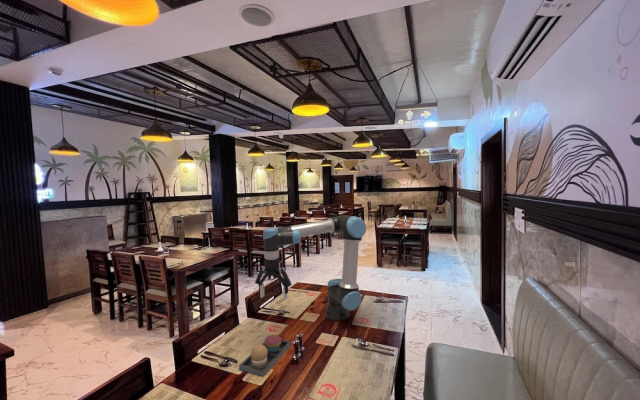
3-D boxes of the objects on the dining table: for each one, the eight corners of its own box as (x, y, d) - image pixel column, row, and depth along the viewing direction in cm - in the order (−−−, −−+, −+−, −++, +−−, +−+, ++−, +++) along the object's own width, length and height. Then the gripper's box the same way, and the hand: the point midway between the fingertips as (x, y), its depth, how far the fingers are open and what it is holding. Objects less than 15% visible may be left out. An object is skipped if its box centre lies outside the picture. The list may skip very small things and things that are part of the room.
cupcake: (284, 346, 142) (284, 323, 142) (276, 356, 134) (276, 332, 134) (270, 344, 145) (269, 321, 144) (261, 353, 137) (260, 329, 137)
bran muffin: (271, 361, 130) (270, 342, 130) (261, 371, 123) (261, 351, 123) (257, 357, 133) (256, 339, 133) (247, 367, 126) (247, 348, 126)
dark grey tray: (290, 347, 143) (290, 341, 143) (263, 378, 120) (263, 372, 120) (269, 342, 148) (269, 337, 148) (239, 372, 125) (238, 365, 125)
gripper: (296, 257, 143) (298, 297, 145) (255, 255, 152) (257, 293, 153) (290, 261, 136) (292, 303, 138) (247, 258, 145) (249, 298, 146)
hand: (273, 298), depth 145 cm, fingers open, 13 cm apart
